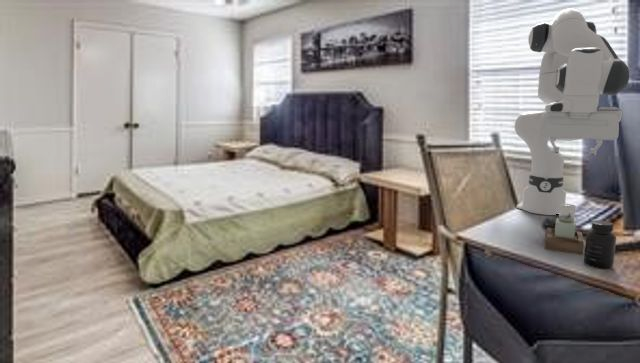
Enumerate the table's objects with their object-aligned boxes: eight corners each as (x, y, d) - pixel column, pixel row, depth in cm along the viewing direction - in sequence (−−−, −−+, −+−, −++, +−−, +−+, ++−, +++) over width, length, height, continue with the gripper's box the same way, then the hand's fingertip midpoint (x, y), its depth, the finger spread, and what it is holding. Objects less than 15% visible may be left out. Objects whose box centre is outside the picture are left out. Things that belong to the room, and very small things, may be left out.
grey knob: (558, 218, 135) (560, 203, 134) (573, 220, 133) (575, 204, 132) (558, 222, 131) (560, 206, 130) (574, 223, 129) (576, 207, 128)
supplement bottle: (590, 258, 124) (596, 217, 122) (617, 266, 119) (623, 223, 116) (578, 263, 121) (583, 221, 118) (604, 271, 115) (611, 227, 113)
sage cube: (554, 233, 136) (556, 218, 135) (572, 235, 134) (574, 220, 133) (554, 238, 132) (556, 222, 131) (573, 240, 130) (575, 224, 129)
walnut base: (544, 239, 140) (546, 227, 139) (580, 244, 136) (582, 231, 135) (544, 248, 132) (546, 236, 131) (583, 254, 127) (584, 241, 126)
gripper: (621, 106, 123) (614, 154, 126) (540, 105, 132) (536, 150, 135) (625, 107, 118) (617, 158, 121) (540, 105, 127) (535, 153, 130)
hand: (573, 154), depth 128 cm, fingers open, 8 cm apart
